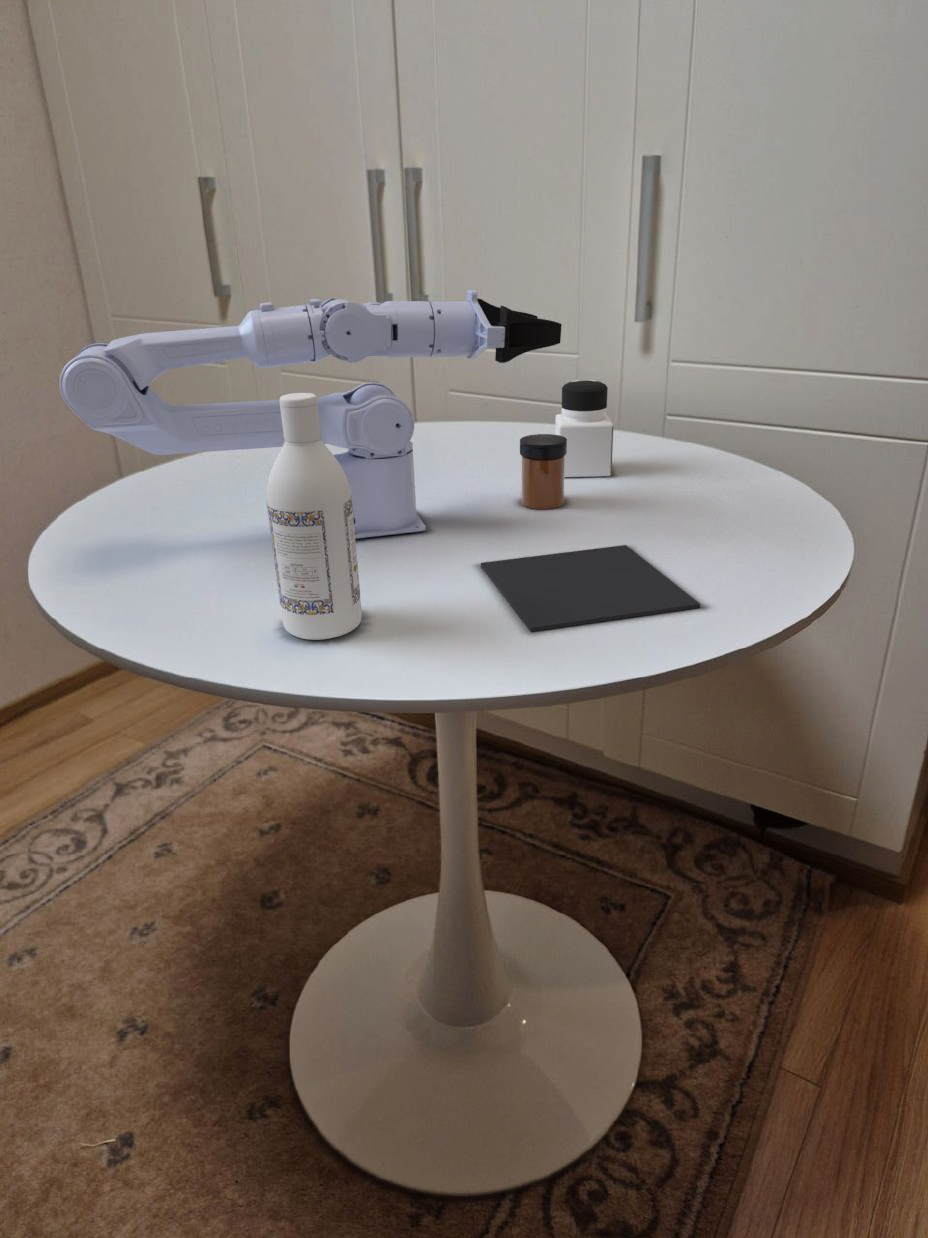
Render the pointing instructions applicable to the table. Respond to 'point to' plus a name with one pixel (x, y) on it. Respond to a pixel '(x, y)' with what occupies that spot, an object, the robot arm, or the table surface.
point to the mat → (585, 587)
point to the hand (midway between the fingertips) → (547, 328)
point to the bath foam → (312, 529)
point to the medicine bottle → (585, 429)
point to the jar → (543, 482)
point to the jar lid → (543, 446)
